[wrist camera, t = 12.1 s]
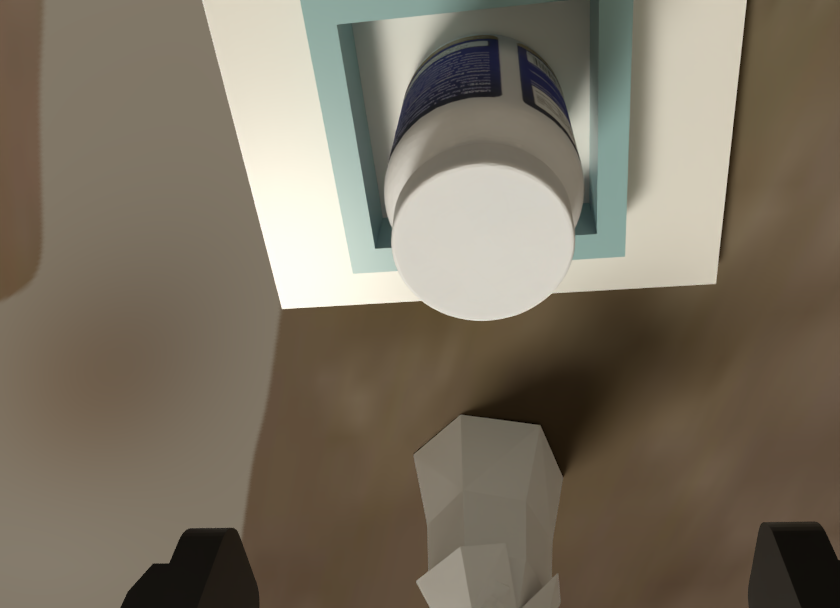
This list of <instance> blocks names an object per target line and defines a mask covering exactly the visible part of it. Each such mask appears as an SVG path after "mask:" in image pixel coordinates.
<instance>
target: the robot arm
mask: <svg viewBox="0 0 840 608" xmlns="http://www.w3.org/2000/svg"><path fill="white" fill-rule="evenodd" d="M748 603H749V608H840V560H838V558H837V556H836V554H835V552H834V550H833V547H832V545H831V543H830V541H829V539H828V536H827V534H826V532H825V530H824V529H823V527H822V526H821V525H820V524H819V523H818V522H763V523H762V524H761V525H760V528H759V532H758V537H757V543H756V548H755V553H754V559H753V564H752V570H751V575H750V580H749V587H748ZM121 608H259V591H258V586H257V583H256V580H255V578H254V575H253V572H252V569H251V567H250V564H249V561H248V558H247V555H246V553H245V550H244V547H243V544H242V542H241V539H240V536H239V534H238V532H237V530H236V529H234V528H190V529H188V530H186V531H185V532H184V533H183V534H182V536H181V537H180V539H179V542H178V544H177V546H176V549H175V551H174V553H173V556H172V559H171V560H170V563H169V564H153V565H152V566H151V567H150V568H149V569H148V570H147V571H146V572H145V573H144V574H143V576H142V577H141V578H140V579H139V580H138V581H137V582H136V583H135V585H134V586H133V587H132V588H131V589H130V590H129V591H128V593H127V595H126V597H125V599H124V601H123V603H122V606H121Z"/></svg>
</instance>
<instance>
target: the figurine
mask: <svg viewBox="0 0 840 608" xmlns="http://www.w3.org/2000/svg"><path fill="white" fill-rule="evenodd" d="M413 456H414V461H415V466H416V471H417V476H418V481H419V486H420V491H421V496H422V501H423V506H424V511H425V516H426V521H427V533H428V572H427V573H426V574H425V575H423V576H422V577H421V578H419V579H418V580H417V581H416V583H417V584H418V586H419V588H420V590H421V592H422V594H423V596H424V598H425V599H426V601H427V603H428V605H429V607H430V608H558V607H559V605H560V603H561V600H560V588H559V577H558V573H557V574H556V575H555V576H554V577H553V578H552V541H553V535H554V529H555V523H556V517H557V511H558V505H559V499H560V493H561V487H562V481H563V476H562V474H561V472H560V469H559V467H558V465H557V462H556V460H555V458H554V455H553V453H552V451H551V449H550V446H549V444H548V442H547V439H546V437H545V435H544V432H543V430H542V428H541V426H540V425H536V424H528V423H520V422H513V421H505V420H498V419H490V418H483V417H475V416H468V415H459V416H458V417H457V418H456V419H455V420H454V421H452V422H451V423H450V424H449V425H448V426H447V427H445V428H444V429H443V430H442V431H441V432H439V433H438V434H437V435H436V436H435V437H434V438H432V439H431V440H430V441H429V442H428V443H426V444H425V445H424V446H423V447H422V448H421V449H419V450H418V451H417V452H416V453H415V454H414V455H413Z"/></svg>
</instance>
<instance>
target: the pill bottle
mask: <svg viewBox="0 0 840 608" xmlns="http://www.w3.org/2000/svg"><path fill="white" fill-rule="evenodd" d="M583 198H584V179H583V170H582V165H581V161H580V157H579V153H578V149H577V146H576V142H575V138H574V134H573V130H572V127H571V123H570V119H569V115H568V111H567V107H566V103H565V100H564V96H563V93H562V89H561V87H560V84H559V82H558V80H557V78H556V75H555V74H554V72H553V70H552V69H551V67H550V66H549V65H548V63H547V62H546V61H545V60H544V59H543V58H542V57H541V56H540V55H539V54H538V53H537V52H536V51H535V50H533V49H532V48H531V47H529V46H527V45H526V44H524V43H522V42H520V41H518V40H515V39H513V38H510V37H506V36H503V35H497V34H473V35H467V36H463V37H460V38H457V39H454V40H452V41H450V42H448V43H446V44H444V45H442V46H441V47H439V48H438V49H436V50H435V51H434V52H432V53H431V54H430V55H429V56H428V57H427V58H426V59H425V60H424V61H423V62H422V63H421V65H420V66H419V67H418V68H417V70H416V72H415V73H414V75H413V77H412V79H411V81H410V83H409V85H408V87H407V90H406V93H405V96H404V100H403V104H402V109H401V113H400V117H399V121H398V125H397V129H396V132H395V137H394V142H393V146H392V149H391V153H390V157H389V161H388V165H387V169H386V174H385V185H384V200H385V207H386V212H387V216H388V219H389V222H390V224H391V227H392V236H391V247H392V254H393V259H394V262H395V266H396V268H397V270H398V272H399V274H400V276H401V278H402V280H403V281H404V283H405V284H406V285H407V286H408V288H409V289H410V290H411V291H412V292H413V293H414V294H415V295H416V296H417V297H418V298H419V299H420V300H421V301H423V302H424V303H425V304H427V305H429V306H430V307H432V308H433V309H435V310H437V311H439V312H441V313H444V314H447V315H449V316H453V317H456V318H461V319H466V320H475V321H488V320H497V319H503V318H507V317H511V316H515V315H518V314H520V313H522V312H525V311H527V310H529V309H531V308H533V307H534V306H536V305H538V304H539V303H540V302H542V301H543V300H545V299H546V298H547V297H548V296H549V295H551V293H552V292H553V291H554V290H555V289H556V288H557V287H558V285H559V284H560V283H561V282H562V280H563V279H564V277H565V276H566V274H567V272H568V269H569V267H570V265H571V262H572V259H573V255H574V249H575V227H576V225H577V222H578V220H579V217H580V213H581V210H582V205H583Z"/></svg>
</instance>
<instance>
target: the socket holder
mask: <svg viewBox="0 0 840 608" xmlns="http://www.w3.org/2000/svg"><path fill="white" fill-rule="evenodd" d="M202 2H203V6H204V9H205V13H206V17H207V21H208V25H209V29H210V33H211V37H212V40H213V44H214V48H215V52H216V56H217V60H218V63H219V67H220V71H221V75H222V79H223V83H224V86H225V91H226V94H227V98H228V102H229V106H230V110H231V114H232V117H233V121H234V125H235V129H236V133H237V137H238V141H239V144H240V148H241V152H242V156H243V160H244V164H245V168H246V171H247V175H248V179H249V183H250V187H251V191H252V195H253V198H254V202H255V206H256V210H257V214H258V218H259V222H260V225H261V229H262V233H263V237H264V240H265V245H266V248H267V252H268V256H269V260H270V264H271V268H272V272H273V275H274V279H275V283H276V287H277V291H278V295H279V299H280V303H281V306H282V309H289V308H306V307H323V306H340V305H358V304H375V303H392V302H410V301H421V300H420V299H419V298H418V297H417V296H416V295H415V294H414V293H413V292H412V291H411V290H410V289H409V288H408V286H407V285H406V284H405V283H404V281H403V280H402V278H401V276H400V274H399V272H398V270H397V268H396V266H395V262H394V259H393V254H392V247H391V236H392V227H391V224H390V222H389V219H388V216H387V212H386V207H385V200H384V185H385V174H386V169H387V165H388V161H389V157H390V153H391V149H392V146H393V142H394V137H395V132H396V129H397V125H398V121H399V117H400V113H401V109H402V104H403V100H404V96H405V93H406V90H407V87H408V85H409V83H410V81H411V79H412V77H413V75H414V73H415V72H416V70H417V68H418V67H419V66H420V65H421V63H422V62H423V61H424V60H425V59H426V58H427V57H428V56H429V55H430V54H431V53H432V52H434V51H435V50H436V49H438V48H439V47H441V46H442V45H444V44H446V43H448V42H450V41H452V40H454V39H457V38H460V37H463V36H467V35H473V34H497V35H503V36H506V37H510V38H513V39H515V40H518V41H520V42H522V43H524V44H526V45H527V46H529V47H531V48H532V49H533V50H535V51H536V52H537V53H538V54H539V55H540V56H541V57H542V58H543V59H544V60H545V61H546V62H547V63H548V65H549V66H550V67H551V69H552V70H553V72H554V74H555V75H556V78H557V80H558V82H559V84H560V87H561V89H562V93H563V96H564V100H565V103H566V107H567V111H568V115H569V119H570V123H571V127H572V130H573V134H574V138H575V142H576V146H577V149H578V153H579V157H580V161H581V165H582V170H583V179H584V198H583V205H582V210H581V213H580V217H579V220H578V222H577V225H576V227H575V249H574V255H573V259H572V262H571V265H570V267H569V269H568V272H567V274H566V276H565V277H564V279H563V280H562V282H561V283H560V284H559V285H558V287H557V288H556V289H555V290H554V291H553V292H552V293H565V292H582V291H600V290H617V289H634V288H652V287H669V286H686V285H703V284H716V278H717V269H718V259H719V250H720V241H721V232H722V223H723V214H724V205H725V195H726V186H727V177H728V168H729V159H730V150H731V141H732V131H733V122H734V113H735V104H736V95H737V86H738V77H739V67H740V58H741V49H742V40H743V31H744V22H745V12H746V3H747V0H202Z"/></svg>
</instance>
